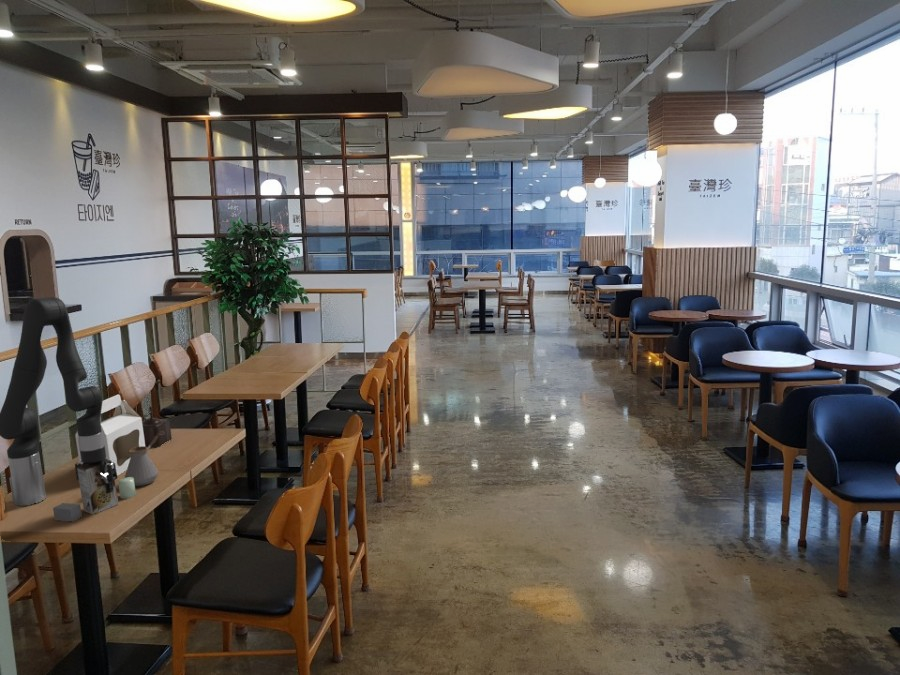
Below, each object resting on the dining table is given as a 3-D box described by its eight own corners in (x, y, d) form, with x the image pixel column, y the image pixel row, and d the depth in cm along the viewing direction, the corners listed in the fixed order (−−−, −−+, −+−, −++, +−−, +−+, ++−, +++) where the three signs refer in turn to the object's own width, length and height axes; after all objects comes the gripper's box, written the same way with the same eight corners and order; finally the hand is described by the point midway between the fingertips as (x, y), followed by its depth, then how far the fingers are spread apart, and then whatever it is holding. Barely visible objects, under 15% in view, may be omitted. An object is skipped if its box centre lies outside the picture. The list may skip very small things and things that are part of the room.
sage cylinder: (117, 498, 241) (114, 482, 240) (126, 492, 245) (124, 476, 244) (129, 499, 240) (127, 483, 238) (138, 493, 244) (136, 477, 243)
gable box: (118, 457, 283) (109, 391, 278) (147, 458, 280) (138, 391, 275) (81, 478, 261) (70, 407, 256) (112, 479, 259) (101, 408, 254)
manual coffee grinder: (150, 438, 305) (145, 399, 302) (172, 439, 303) (167, 400, 299) (127, 451, 290) (121, 410, 287) (150, 451, 288) (144, 410, 284)
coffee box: (109, 500, 239) (102, 456, 236) (119, 504, 235) (112, 460, 232) (82, 510, 232) (75, 465, 229) (92, 515, 228) (85, 468, 225)
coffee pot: (147, 489, 248) (141, 449, 245) (118, 488, 250) (113, 448, 247) (180, 466, 269) (175, 430, 266) (153, 466, 271) (148, 429, 268)
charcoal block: (55, 520, 225) (52, 508, 224) (64, 515, 229) (62, 502, 228) (72, 522, 223) (70, 509, 222) (82, 517, 227) (80, 504, 226)
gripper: (65, 449, 227) (72, 495, 230) (102, 450, 224) (109, 497, 227) (81, 441, 235) (89, 486, 238) (118, 442, 231) (124, 488, 234)
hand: (99, 492), depth 232 cm, fingers closed on coffee box, 8 cm apart
